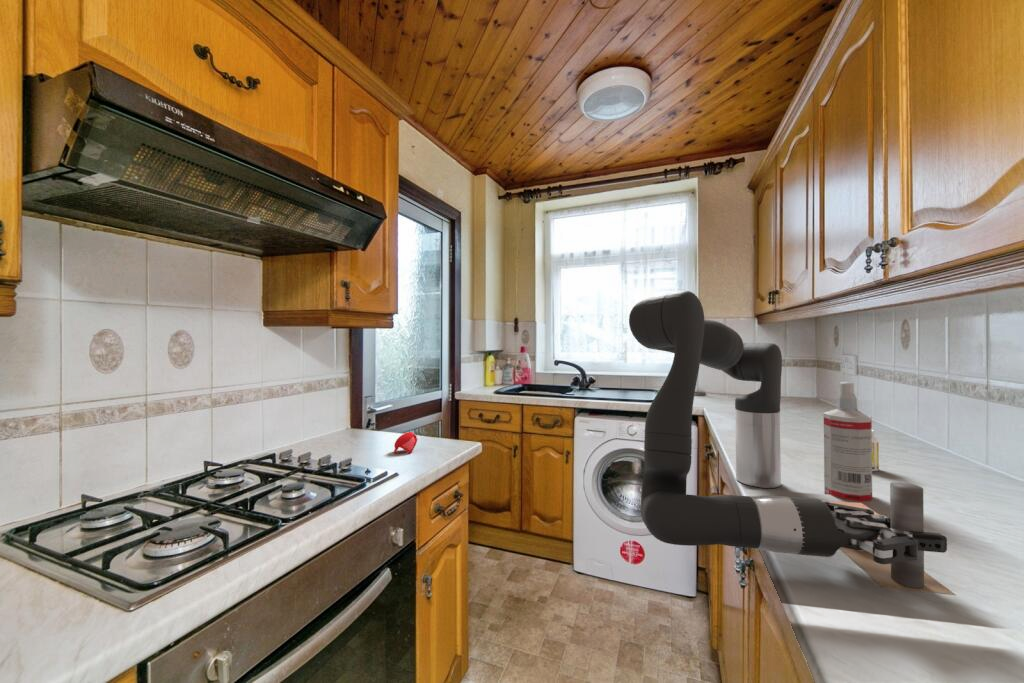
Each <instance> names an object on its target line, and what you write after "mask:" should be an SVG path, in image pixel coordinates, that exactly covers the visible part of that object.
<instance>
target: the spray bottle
mask: <svg viewBox="0 0 1024 683" xmlns="http://www.w3.org/2000/svg"><path fill="white" fill-rule="evenodd" d="M854 388H855V384H854V382H849V381H841V382H839V393H838V395H837V398H836V408H834V409H831V410H829V411H828V410H827V411H825V412H823V466H824V467H823V468H824V469H823V471H824V472H823V473H824V475H823V476H824V478H823V480H824V481H823V483H824V484H823V485H824V486H823V487H824V489H823V490H824V495H830V496H833V497H836V498H839V499H843V500H848V501H854V502H870V501H872V499H873V471H872V430H873V429H872V428H873V427H872V426H873V425H872V423H873V422H872V420H873V419H872V415H870V414H867V413H864V412H862V411H859V409H858V400H857V395H856V394H855V389H854Z"/></svg>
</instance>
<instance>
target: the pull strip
mask: <svg viewBox="0 0 1024 683" xmlns="http://www.w3.org/2000/svg"><path fill="white" fill-rule="evenodd" d="M889 489H890V491H889V495H890V496H889V499H890V500H889V502H890V503H889V504H890V507H889V509H890V510H889V512H890V513H889V514H890V517H889V518H890V524H891V529H898V530H906V531H917V532H925V529H924V528H925V525H924V518H925V517H924V488H923V487H922V486H919V485H916V484H913V483H908V482H903V481H902V482H901V481H892V482H890V483H889ZM896 537H899V536H891V538H896ZM838 550H840V551H841V552H842V553H843V554H845V555H846V556H847V557H848V558H849V559H850V560H851V561H852V562H854V563H855V564H856V565H857V566H858V567H859V568H860V569H861V570H863V571H864V573H866V574H867V575H868V576H869V577H870V578H871V579H873V580H874V582H876V583H877V584H878V586H880V587H881V588H885V589H895V590H904V591H913V592H922V593H923V592H924V593H932V594H934V593H935V594H941V595H944V594H945V595H952V596H953V595H954V596H956V595H957V594H956V593H954V592H953V591H952V590H950V588H948V587H946V586H945V585H943V584H942V583H941V582H940V581H938V580H937V579H935V578H934V577H933V576H931V575H930V574H929V573H928V572H926V571H925V553H924V552H925V551H918V560H913V561H906V562H898V563H891V564H879V563H877V562H875V561H874V560H873V554H872V553H870V552H868V551H866V550H863V551H857V550H852V549H849V548H844V547H841V548H839V549H838Z"/></svg>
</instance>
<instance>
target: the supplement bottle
mask: <svg viewBox="0 0 1024 683" xmlns="http://www.w3.org/2000/svg"><path fill="white" fill-rule="evenodd" d="M879 450H880V448H879V439H878V438H877V437H875V430H874V429H872V472H877V471H878V470H880V467H879V466H880V465H879V461H880V460H879V459H880V458H879V457H880V456H879V454H880V453H879Z"/></svg>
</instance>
